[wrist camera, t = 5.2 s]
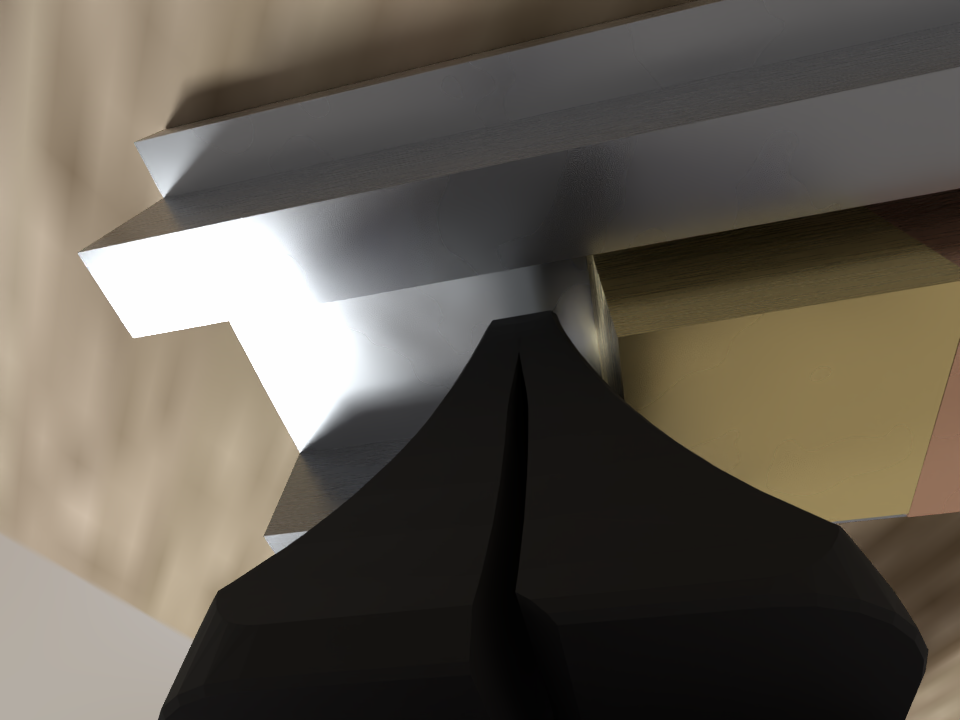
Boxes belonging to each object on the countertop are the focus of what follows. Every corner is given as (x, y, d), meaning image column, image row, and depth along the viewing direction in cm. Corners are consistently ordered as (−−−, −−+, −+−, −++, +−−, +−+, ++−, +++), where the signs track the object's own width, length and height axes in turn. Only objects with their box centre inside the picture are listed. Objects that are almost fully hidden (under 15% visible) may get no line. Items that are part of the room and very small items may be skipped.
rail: (963, 413, 14) (1086, 531, 11) (344, 491, 16) (308, 604, 13) (1139, -107, 8) (1485, -155, 5) (162, 129, 11) (33, 186, 8)
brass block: (795, 363, 12) (908, 513, 8) (604, 392, 12) (639, 542, 9) (815, 175, 10) (977, 277, 6) (582, 221, 10) (617, 337, 7)
